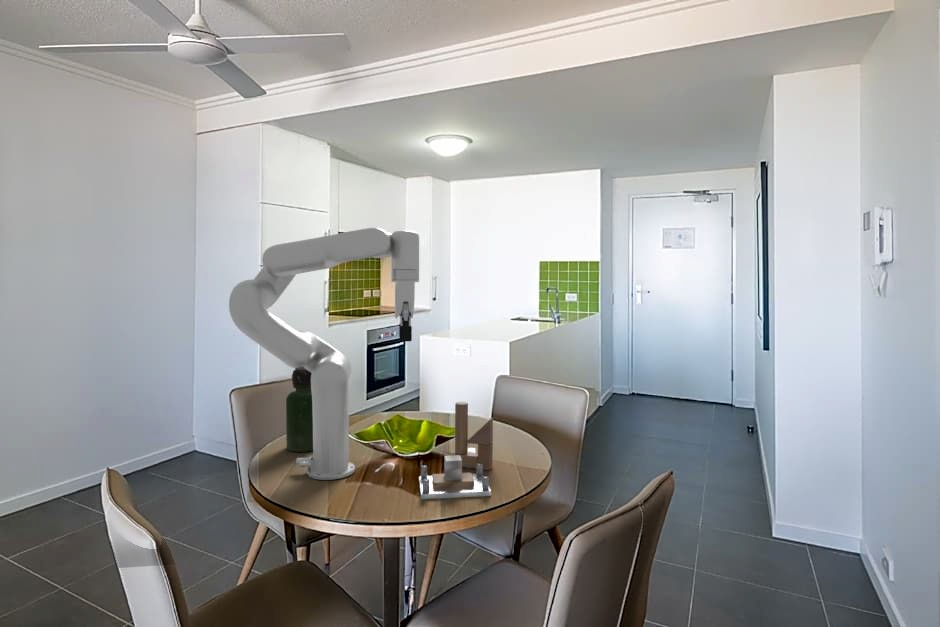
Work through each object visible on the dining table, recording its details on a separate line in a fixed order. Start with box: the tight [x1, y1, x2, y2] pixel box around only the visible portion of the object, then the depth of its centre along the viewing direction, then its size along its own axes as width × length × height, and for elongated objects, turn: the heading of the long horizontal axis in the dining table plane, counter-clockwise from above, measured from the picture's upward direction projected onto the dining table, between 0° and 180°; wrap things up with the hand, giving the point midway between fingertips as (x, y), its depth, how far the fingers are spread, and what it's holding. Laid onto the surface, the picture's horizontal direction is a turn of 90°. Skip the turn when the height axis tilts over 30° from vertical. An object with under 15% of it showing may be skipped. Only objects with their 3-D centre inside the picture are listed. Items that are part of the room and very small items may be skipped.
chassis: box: [418, 463, 492, 500], centre depth 133 cm, size 17×12×4 cm
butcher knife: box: [468, 447, 477, 454], centre depth 157 cm, size 5×15×1 cm, turn 177°
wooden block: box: [452, 401, 494, 471], centre depth 149 cm, size 4×11×18 cm, turn 75°
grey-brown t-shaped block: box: [431, 455, 474, 489], centre depth 133 cm, size 10×6×6 cm, turn 98°
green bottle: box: [285, 367, 313, 453], centre depth 165 cm, size 10×10×25 cm
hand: (405, 339), depth 145 cm, fingers open, 9 cm apart
